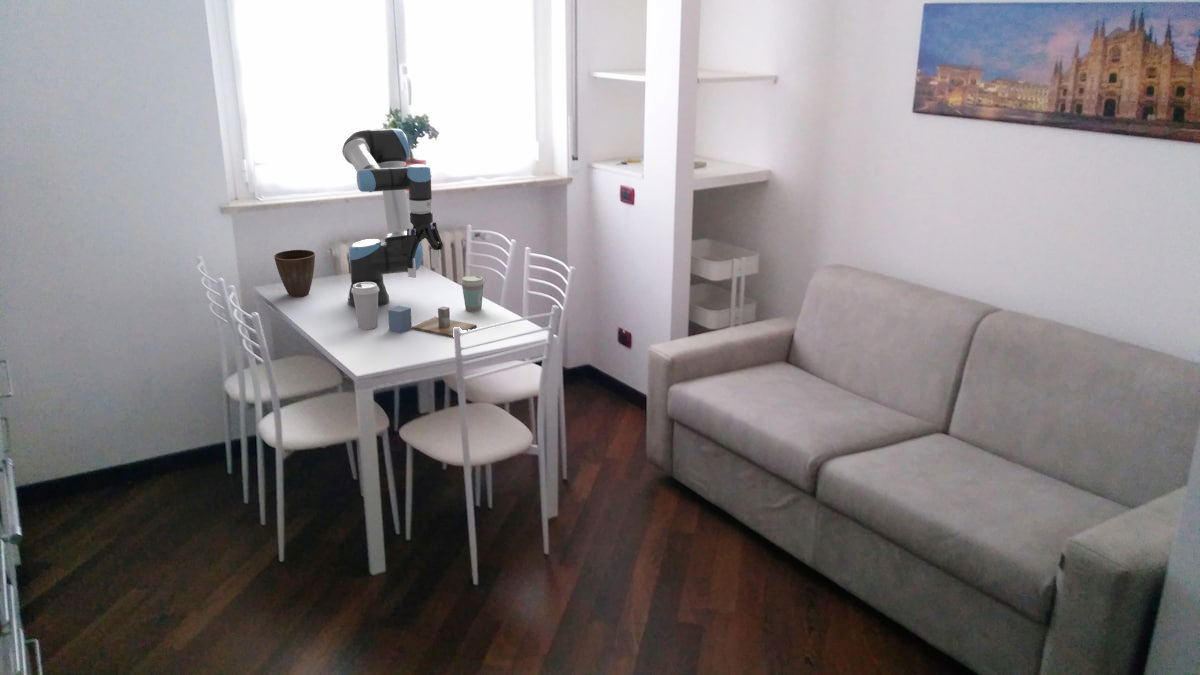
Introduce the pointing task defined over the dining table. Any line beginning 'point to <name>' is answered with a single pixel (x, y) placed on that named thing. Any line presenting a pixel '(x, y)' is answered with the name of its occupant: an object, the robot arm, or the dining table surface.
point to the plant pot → (296, 271)
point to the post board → (442, 330)
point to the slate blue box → (399, 319)
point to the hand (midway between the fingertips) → (424, 272)
